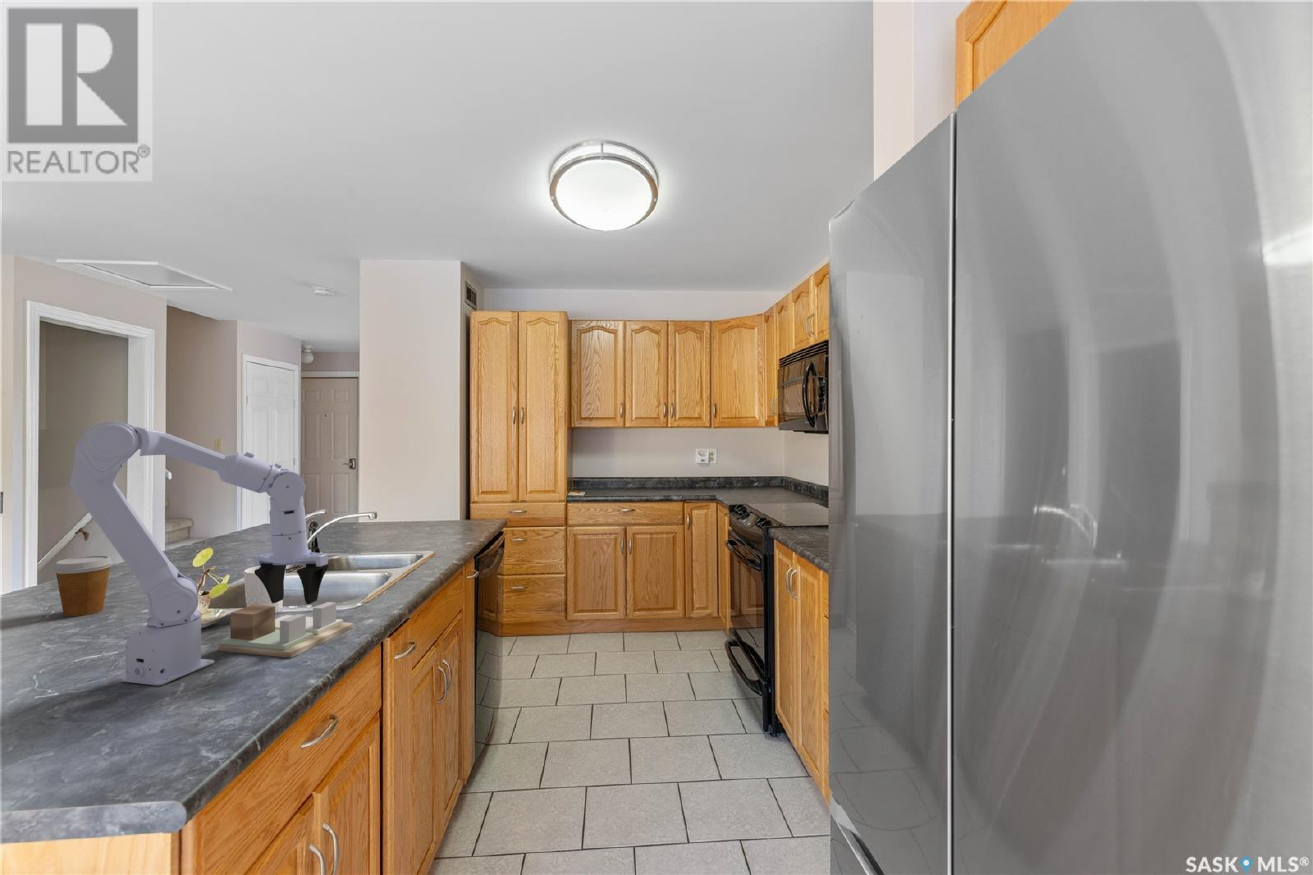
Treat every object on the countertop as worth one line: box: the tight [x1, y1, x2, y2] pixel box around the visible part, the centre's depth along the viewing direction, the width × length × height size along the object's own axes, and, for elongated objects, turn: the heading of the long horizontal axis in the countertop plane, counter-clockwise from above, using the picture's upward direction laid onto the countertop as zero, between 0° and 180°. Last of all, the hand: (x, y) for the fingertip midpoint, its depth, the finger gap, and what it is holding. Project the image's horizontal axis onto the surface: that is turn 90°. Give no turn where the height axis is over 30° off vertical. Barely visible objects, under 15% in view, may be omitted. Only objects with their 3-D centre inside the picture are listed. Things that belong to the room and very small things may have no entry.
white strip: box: [275, 601, 344, 635], centre depth 117 cm, size 7×14×5 cm, turn 79°
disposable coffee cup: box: [52, 554, 114, 618], centre depth 127 cm, size 10×10×12 cm
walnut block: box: [229, 605, 276, 640], centre depth 110 cm, size 5×5×5 cm
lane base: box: [218, 622, 354, 658], centre depth 113 cm, size 16×16×1 cm
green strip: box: [221, 613, 314, 650], centre depth 109 cm, size 7×14×5 cm, turn 79°
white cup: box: [243, 566, 287, 614], centre depth 129 cm, size 8×8×10 cm
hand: (294, 601), depth 109 cm, fingers open, 7 cm apart
